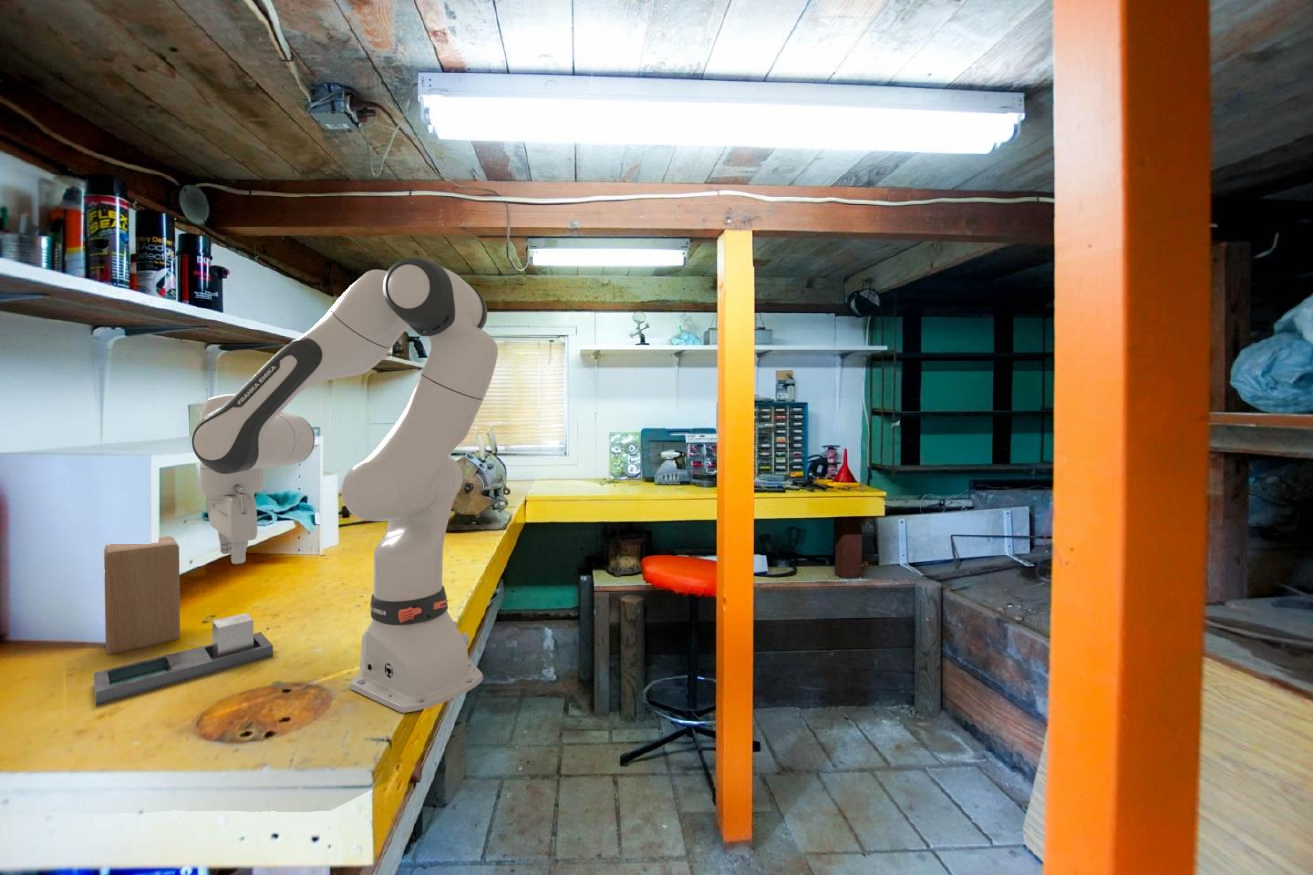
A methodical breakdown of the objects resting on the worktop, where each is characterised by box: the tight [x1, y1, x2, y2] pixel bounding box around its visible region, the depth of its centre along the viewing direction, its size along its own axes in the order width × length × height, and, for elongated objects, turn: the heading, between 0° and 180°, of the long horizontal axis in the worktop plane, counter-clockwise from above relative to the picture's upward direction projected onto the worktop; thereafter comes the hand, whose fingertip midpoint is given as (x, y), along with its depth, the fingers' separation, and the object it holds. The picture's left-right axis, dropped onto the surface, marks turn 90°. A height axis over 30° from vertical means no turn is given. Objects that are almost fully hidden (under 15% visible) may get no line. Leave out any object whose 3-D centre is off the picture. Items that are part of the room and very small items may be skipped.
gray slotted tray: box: [93, 631, 274, 706], centre depth 88 cm, size 9×22×3 cm, turn 140°
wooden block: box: [103, 535, 181, 655], centre depth 99 cm, size 10×10×20 cm
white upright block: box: [211, 612, 254, 659], centre depth 92 cm, size 5×5×7 cm
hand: (232, 557), depth 92 cm, fingers open, 8 cm apart
